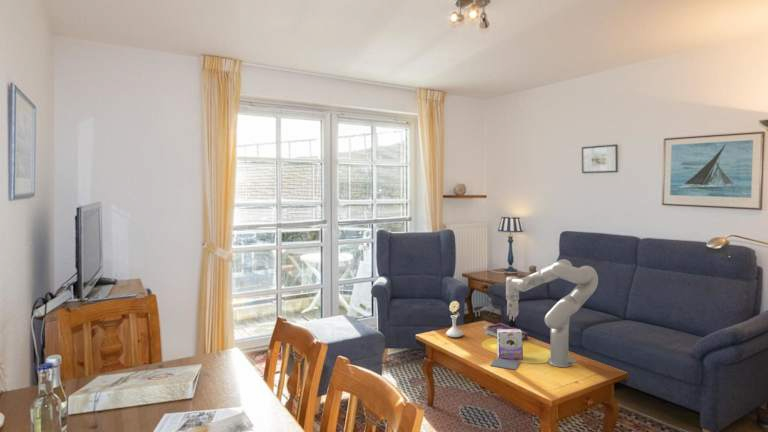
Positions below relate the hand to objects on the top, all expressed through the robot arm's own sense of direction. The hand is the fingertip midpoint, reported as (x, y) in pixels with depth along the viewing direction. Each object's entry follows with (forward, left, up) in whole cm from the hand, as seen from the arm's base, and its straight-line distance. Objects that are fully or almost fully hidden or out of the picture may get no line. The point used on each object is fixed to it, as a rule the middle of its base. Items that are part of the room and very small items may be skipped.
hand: (512, 326), depth 268 cm
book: (+12, -28, -17) cm, 35 cm away
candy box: (0, +9, -16) cm, 18 cm away
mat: (0, +20, -16) cm, 25 cm away
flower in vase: (+42, -14, -16) cm, 47 cm away
